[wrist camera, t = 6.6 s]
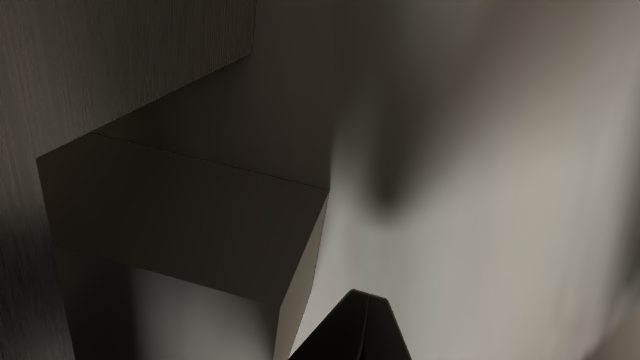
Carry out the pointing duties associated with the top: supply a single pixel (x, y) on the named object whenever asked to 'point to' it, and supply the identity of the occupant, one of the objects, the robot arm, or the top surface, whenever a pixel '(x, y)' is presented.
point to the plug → (177, 253)
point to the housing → (83, 120)
